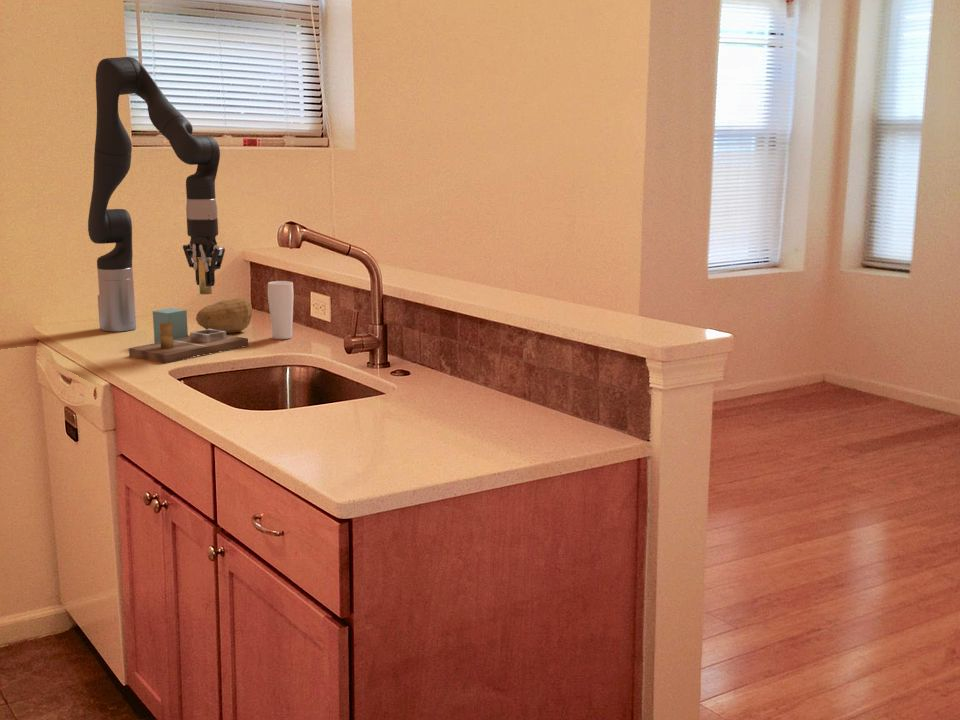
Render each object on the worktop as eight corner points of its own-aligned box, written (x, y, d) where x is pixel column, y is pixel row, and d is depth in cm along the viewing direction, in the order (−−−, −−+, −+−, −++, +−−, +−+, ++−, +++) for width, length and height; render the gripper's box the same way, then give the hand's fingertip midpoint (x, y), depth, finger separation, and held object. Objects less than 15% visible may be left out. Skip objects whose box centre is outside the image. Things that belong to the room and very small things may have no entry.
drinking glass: (298, 336, 292) (296, 281, 289) (291, 340, 285) (289, 284, 282) (273, 335, 293) (271, 280, 289) (266, 340, 286) (264, 284, 283)
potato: (193, 332, 296) (191, 299, 294) (249, 328, 303) (247, 295, 301) (200, 338, 289) (198, 303, 287) (257, 333, 296) (256, 299, 294)
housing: (154, 344, 280) (152, 311, 278) (173, 340, 285) (171, 308, 283) (169, 347, 276) (167, 313, 275) (188, 343, 281) (186, 310, 279)
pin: (197, 293, 273) (195, 258, 271) (206, 292, 276) (204, 257, 274) (204, 294, 272) (203, 259, 270) (214, 293, 274) (212, 258, 272)
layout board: (129, 356, 266) (127, 324, 264) (212, 339, 286) (210, 310, 284) (166, 363, 258) (164, 330, 256) (248, 346, 278) (247, 315, 276)
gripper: (171, 216, 271) (175, 284, 274) (208, 219, 263) (212, 289, 266) (195, 214, 277) (199, 281, 280) (232, 217, 269) (235, 286, 272)
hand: (205, 285), depth 273 cm, fingers closed on pin, 3 cm apart
